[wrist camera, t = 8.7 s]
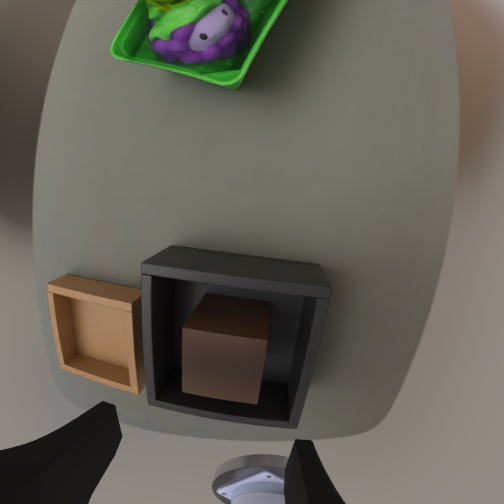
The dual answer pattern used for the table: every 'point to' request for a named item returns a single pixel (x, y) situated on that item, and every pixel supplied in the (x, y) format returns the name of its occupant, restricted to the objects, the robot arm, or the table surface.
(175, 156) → the table surface
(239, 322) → the walnut block
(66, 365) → the kraft box
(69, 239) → the table surface
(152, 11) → the fruit basket
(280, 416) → the black basket
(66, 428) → the robot arm
